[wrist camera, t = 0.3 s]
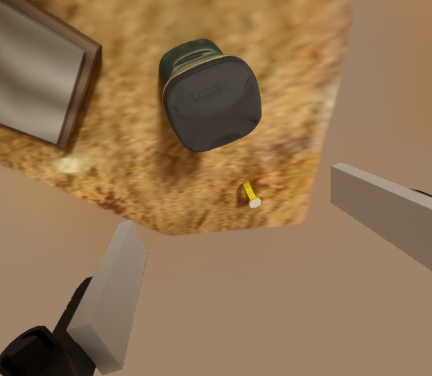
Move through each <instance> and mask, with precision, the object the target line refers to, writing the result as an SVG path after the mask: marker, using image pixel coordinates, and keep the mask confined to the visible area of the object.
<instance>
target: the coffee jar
mask: <svg viewBox="0 0 432 376" xmlns="http://www.w3.org/2000/svg"><path fill="white" fill-rule="evenodd" d="M159 71H160V76H161V79H162V82H163V85H164V90H163V95H162V102H163V107H164V110H165V113H166V116H167V118H168V120H169V122H170V124H171V126H172V128H173V130H174V132H175V133H176V135H177V136H178V138H179V140H180V141H181V143H182V144H183V145H184V146H185V147H186V148H187V149H189V150H191V151H194V152H204V151H209V150H212V149H215V148H218V147H221V146H223V145H226V144H228V143H231V142H233V141H235V140H237V139H240V138H242V137H244V136H246V135H248V134H249V133H250V132H252V131H253V130H254V129H255V127H256V126H257V125H258V123H259V121H260V119H261V112H262V111H261V98H260V92H259V88H258V84H257V80H256V78H255V75H254V73H253V71H252V70H251V68H250V67H249V66H248V64H247V63H246V62H245V61H244V60H243V59H241V58H240V57H237V56H234V55H229V54H223V53H222V52H221V50H220V49H219V48H218V46H217V45H216V44H215V43H213V42H212V41H210V40H208V39H197V40H194V41H190V42H187V43H184V44H182V45H179V46H177V47H175V48H173V49H172V50H170V51H168V52H167V53H166V54H165V55H164V56H163V57H162V59H161V61H160V64H159Z"/></svg>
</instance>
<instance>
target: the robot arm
mask: <svg viewBox="0 0 432 376" xmlns="http://www.w3.org/2000/svg"><path fill="white" fill-rule="evenodd" d="M331 203H333V204H334V205H335V206H337V207H338V208H340V209H341V210H343V211H345V212H346V213H347V214H349V215H350V216H352V217H353V218H355V219H356V220H358V221H359V222H361V223H362V224H363V225H365V226H366V227H368V228H370V229H371V230H372V231H374V232H375V233H377V234H378V235H380V236H381V237H383V238H384V239H386V240H387V241H389V242H390V243H392V244H393V245H394V246H396V247H397V248H399V249H400V250H402V251H403V252H405V253H406V254H408V255H409V256H411V257H412V258H414V259H415V260H417V261H418V262H420V263H421V264H423V265H424V266H426V267H427V268H428V269H430V270H431V271H432V195H430V194H427V193H424V192H421V191H419V190H413V189H409V188H406V187H403V186H401V185H398V184H395V183H393V182H390V181H387V180H385V179H382V178H380V177H377V176H375V175H372V174H369V173H366V172H364V171H361V170H359V169H356V168H354V167H351V166H348V165H346V164H343V163H340V164H336V165H333V166H331ZM147 254H148V253H147V251H146V249H145V247H144V244H143V242H142V240H141V238H140V235H139V233H138V231H137V229H136V227H135V224H134V222H133V220H128V221H124V222H121V223H120V224H119V225H118V227H117V230H116V232H115V233H114V236H113V238H112V239H111V241H110V243H109V246H108V247H107V249H106V252H105V253H104V256H103V258H102V260H101V262H100V263H99V265H98V268H97V270H96V272H95V274H94V276H93V277H89V278H86V279H85V280H84V281H83V282H82V283H81V284H80V286H79V287H78V288H77V289H76V291H75V293H74V295H73V296H72V298H71V301H70V302H69V304H68V305H67V309H66V310H65V311H64V313H63V314H62V316H61V318H60V320H59V322H58V324H57V325H56V327H55V329H54V331H53V333H51V332H50V331H49V330H48V329H47V328H46V327H45V326H36V327H34V328H31V329H29V330H27V331H26V332H24V333H22V334H21V335H20V336H18V337H17V338H16V339H15V340H14V341H12V342H11V343H10V344H9V345H8V346H7V347H6V349H5V350H4V351H3V352H2V353H1V355H0V374H2V375H3V376H93V374H94V371H95V368H96V367H97V369H98V370H99V371H100V372H101V374H102V375H104V374H108V373H111V372H114V371H117V370H121V369H123V365H124V360H125V355H126V351H127V346H128V341H129V337H130V332H131V328H132V323H133V318H134V314H135V309H136V304H137V300H138V296H139V291H140V286H141V282H142V277H143V272H144V268H145V263H146V258H147Z"/></svg>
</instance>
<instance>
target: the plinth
mask: <svg viewBox="0 0 432 376" xmlns="http://www.w3.org/2000/svg"><path fill="white" fill-rule="evenodd" d="M101 47H102V45H100V44H99V43H97V42H95V41H94V40H92V39H91V38H89V37H87V36H86V35H84V34H83V33H81V32H80V31H78V30H76V29H75V28H73V27H72V26H70V25H68V24H67V23H65V22H64V21H62V20H61V19H59V18H57V17H56V16H54V15H53V14H51V13H49V12H48V11H46V10H45V9H43V8H42V7H40V6H38V5H37V4H35V3H34V2H32V1H30V0H0V125H1V126H4V127H7V128H9V129H12V130H15V131H18V132H20V133H23V134H26V135H28V136H31V137H34V138H37V139H39V140H42V141H45V142H48V143H50V144H53V145H56V146H58V147H61V148H64V149H65V147H66V146H67V144H68V143H69V141H70V139H71V136H72V133H73V130H74V127H75V124H76V121H77V118H78V115H79V112H80V109H81V106H82V103H83V100H84V97H85V94H86V91H87V88H88V85H89V82H90V79H91V76H92V74H93V71H94V68H95V65H96V62H97V59H98V56H99V53H100V50H101Z"/></svg>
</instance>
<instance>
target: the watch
mask: <svg viewBox="0 0 432 376" xmlns="http://www.w3.org/2000/svg"><path fill="white" fill-rule="evenodd" d="M242 184H243V187H244V189H245V191H246V193H247V195H248V197H249V199H250V200H249V206H250V207H252V208H254V207H257V206H259V205H260V204H261V200H260V198H259V197H255V194H254V192H253V190H252V188H251V187H250V185H249V183H248V181H246V182H244V183H242Z"/></svg>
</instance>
